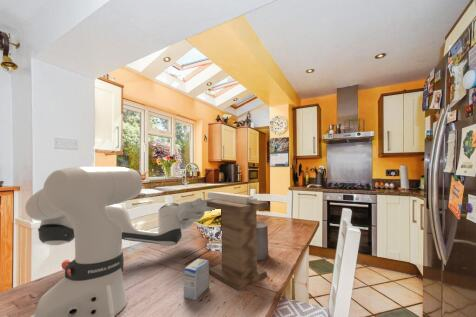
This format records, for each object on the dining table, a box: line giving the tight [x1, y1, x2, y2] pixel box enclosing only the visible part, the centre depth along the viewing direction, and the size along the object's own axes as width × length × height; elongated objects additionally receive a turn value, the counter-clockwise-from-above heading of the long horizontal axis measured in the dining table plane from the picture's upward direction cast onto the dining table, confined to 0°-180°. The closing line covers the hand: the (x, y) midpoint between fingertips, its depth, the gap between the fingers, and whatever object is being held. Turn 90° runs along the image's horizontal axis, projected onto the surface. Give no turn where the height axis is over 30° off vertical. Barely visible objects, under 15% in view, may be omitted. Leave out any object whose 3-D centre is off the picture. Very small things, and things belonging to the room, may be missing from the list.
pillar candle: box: [257, 221, 269, 261], centre depth 97 cm, size 10×10×15 cm
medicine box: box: [183, 258, 210, 301], centre depth 69 cm, size 8×4×9 cm, turn 159°
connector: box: [206, 190, 258, 204], centre depth 85 cm, size 4×26×2 cm, turn 43°
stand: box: [207, 200, 269, 291], centre depth 81 cm, size 14×18×26 cm
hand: (209, 198), depth 95 cm, fingers open, 8 cm apart
